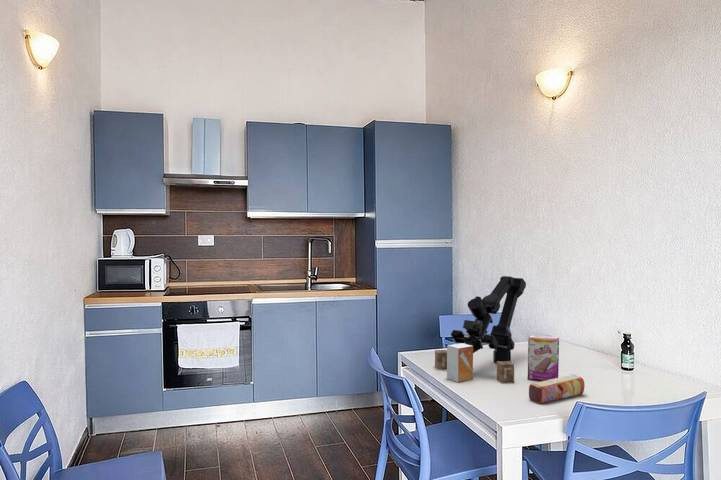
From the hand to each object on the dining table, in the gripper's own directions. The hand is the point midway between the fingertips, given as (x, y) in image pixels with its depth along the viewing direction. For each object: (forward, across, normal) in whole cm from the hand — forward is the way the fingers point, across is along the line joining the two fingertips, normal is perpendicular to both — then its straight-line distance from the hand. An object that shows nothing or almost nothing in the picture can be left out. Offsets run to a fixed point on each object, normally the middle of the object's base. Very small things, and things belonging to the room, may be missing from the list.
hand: (466, 356), depth 207 cm
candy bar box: (-6, +24, +17) cm, 30 cm away
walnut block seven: (+2, +14, +9) cm, 17 cm away
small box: (+9, 0, +2) cm, 9 cm away
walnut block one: (+2, -14, +9) cm, 17 cm away
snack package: (+7, +36, +5) cm, 37 cm away
